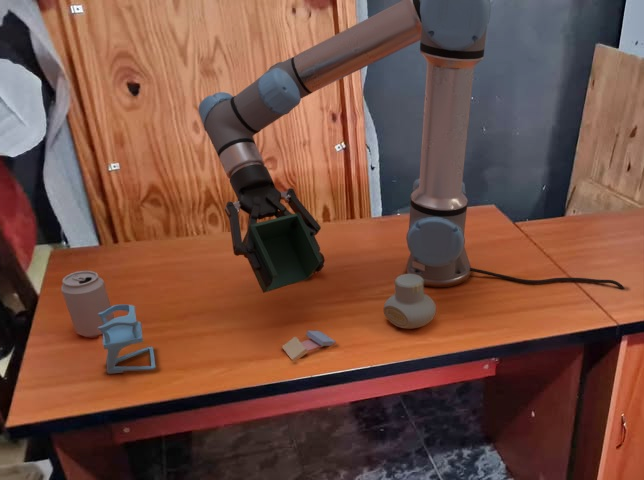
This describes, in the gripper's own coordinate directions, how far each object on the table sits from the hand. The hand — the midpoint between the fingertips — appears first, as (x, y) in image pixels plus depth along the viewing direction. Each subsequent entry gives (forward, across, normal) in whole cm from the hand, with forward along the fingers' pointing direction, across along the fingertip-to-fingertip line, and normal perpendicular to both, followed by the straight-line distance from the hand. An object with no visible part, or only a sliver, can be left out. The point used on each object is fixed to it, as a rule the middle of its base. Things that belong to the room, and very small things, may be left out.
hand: (295, 276), depth 130 cm
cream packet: (+12, +4, -5) cm, 14 cm away
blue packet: (+11, -2, -6) cm, 13 cm away
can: (-10, +32, -30) cm, 44 cm away
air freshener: (+15, -21, -5) cm, 26 cm away
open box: (-6, 0, -6) cm, 8 cm away
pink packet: (+12, +1, -6) cm, 14 cm away
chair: (+2, +30, -18) cm, 35 cm away
